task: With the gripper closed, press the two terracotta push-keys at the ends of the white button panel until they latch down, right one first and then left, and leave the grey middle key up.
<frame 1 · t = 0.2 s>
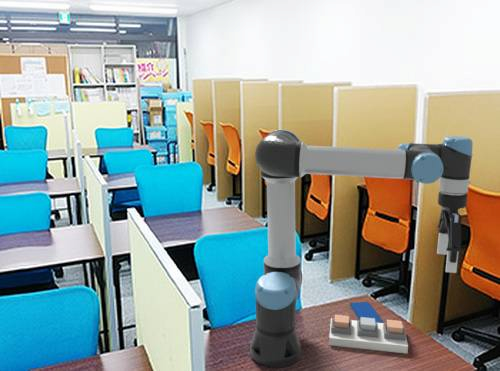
hand: (446, 262, 136), 27 cm above the table, tool pointing down, fingers open, 13 cm apart
smartphone: (365, 314, 161), on the table
right key: (394, 326, 143), point 5 cm above the table, slide at 0.0 cm
white button panel: (366, 338, 146), on the table
middle key: (367, 324, 145), point 5 cm above the table, slide at 0.0 cm
left key: (341, 321, 147), point 5 cm above the table, slide at 0.0 cm
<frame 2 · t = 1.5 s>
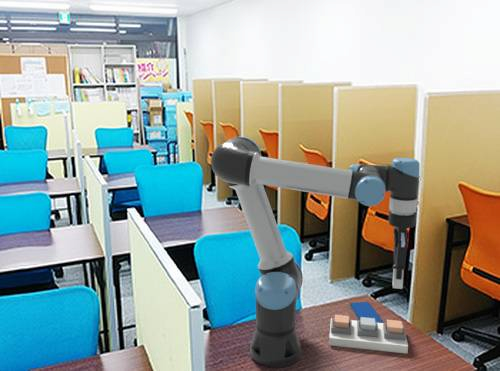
hand: (397, 286, 140), 18 cm above the table, tool pointing down, fingers closed
nothing on the table moved.
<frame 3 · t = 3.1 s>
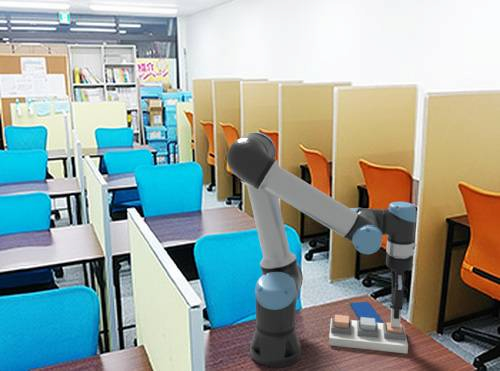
hand: (395, 325, 143), 5 cm above the table, tool pointing down, fingers closed
right key: (394, 329, 144), point 4 cm above the table, slide at 1.0 cm, touching gripper
everything else where it was.
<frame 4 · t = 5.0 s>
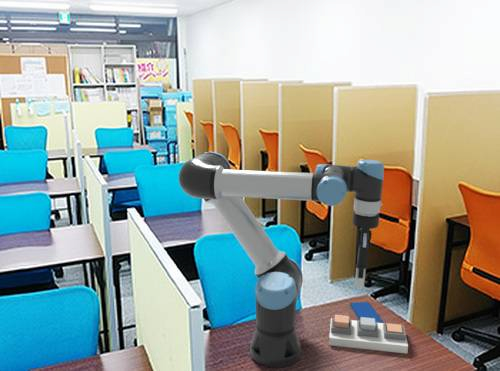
hand: (359, 286, 143), 18 cm above the table, tool pointing down, fingers closed
right key: (394, 330, 144), point 4 cm above the table, slide at 1.3 cm
everything else where it was.
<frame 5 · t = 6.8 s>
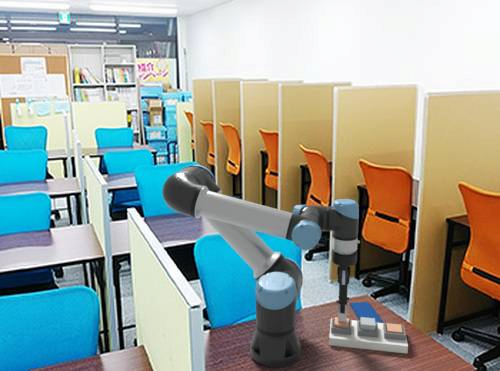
hand: (342, 320, 146), 5 cm above the table, tool pointing down, fingers closed
left key: (341, 324, 147), point 4 cm above the table, slide at 0.9 cm, touching gripper
everything else where it was.
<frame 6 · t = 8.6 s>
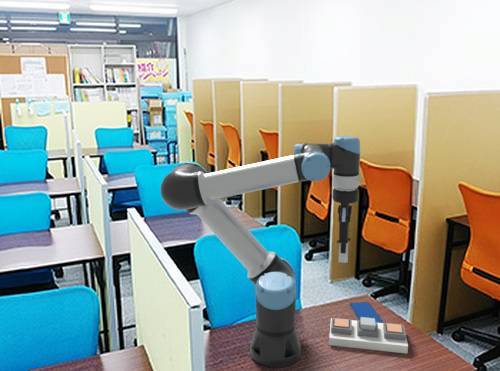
hand: (343, 261, 145), 24 cm above the table, tool pointing down, fingers closed
left key: (341, 325, 147), point 4 cm above the table, slide at 1.3 cm
everything else where it was.
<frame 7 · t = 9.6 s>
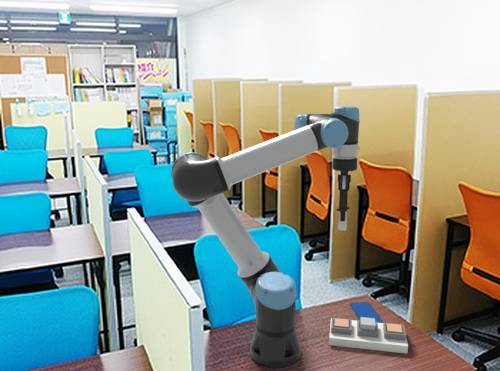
hand: (342, 229, 149), 32 cm above the table, tool pointing down, fingers closed
nothing on the table moved.
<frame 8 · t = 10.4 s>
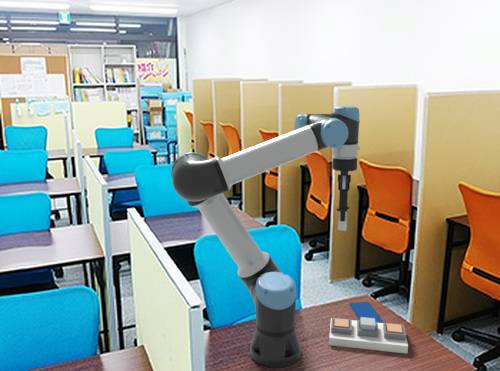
hand: (342, 229, 149), 32 cm above the table, tool pointing down, fingers closed
nothing on the table moved.
at the end: right key slide at 1.3 cm; left key slide at 1.3 cm; middle key slide at 0.0 cm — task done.
